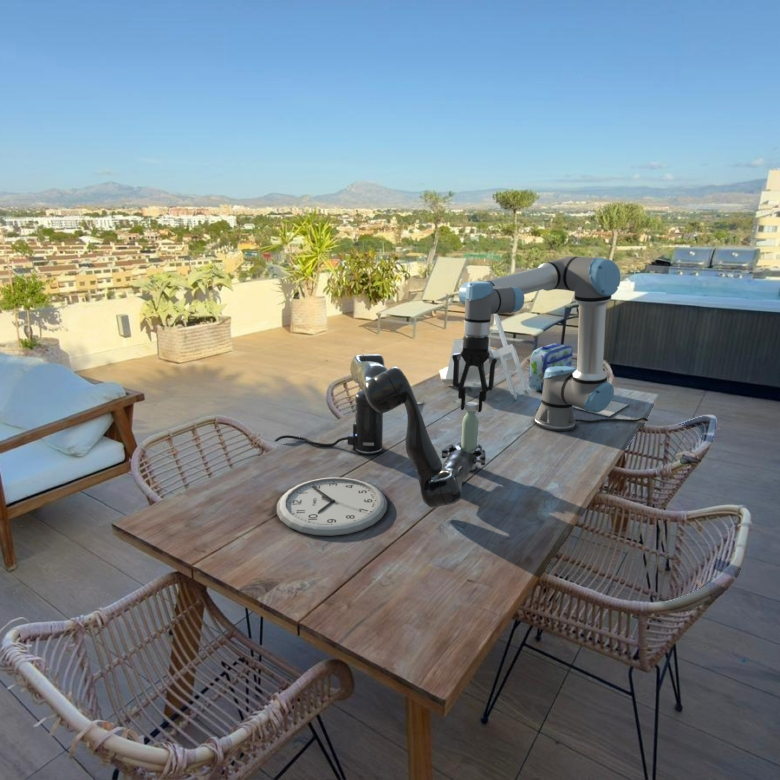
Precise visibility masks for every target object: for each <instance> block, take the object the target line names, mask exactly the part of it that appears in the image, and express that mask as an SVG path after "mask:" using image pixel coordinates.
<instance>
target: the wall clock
mask: <svg viewBox="0 0 780 780" xmlns="http://www.w3.org/2000/svg"><path fill="white" fill-rule="evenodd" d="M387 509H388V500H387V498H386V496H385V494H384V493H383V492H382V491H381V490H380V489H379V488H377V487H376V486H374V485H372V484H371V483H369V482H365V481H362V480H359V479H355V478H349V477H338V476H337V477H335V476H333V477H332V476H331V477H322V478H317V479H312V480H307V481H305V482H302V483H299V484H297V485H295V486H293V487H292V488H290V489H288V490H287V491H286V492H285V493H284V494H283V495H281V496H280V498H279V499H278V502H277V503H276V515H277V517H278V518H279V520H280V521H281V522H282V523H283V524H285V525H286V526H287V527H288V528H290V529H293V530H295V531H297V532H299V533H303V534H308V535H312V536H327V537H328V536H329V537H331V536H332V537H333V536H342V535H350V534H352V533H356V532H361V531H363V530H366V529H368V528H369V527H372V526H373V525H375V524H376V523H378V522H379V521H380V520H381V519H382V518H383V517H384V516H385V514H386V512H387Z"/></svg>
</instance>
